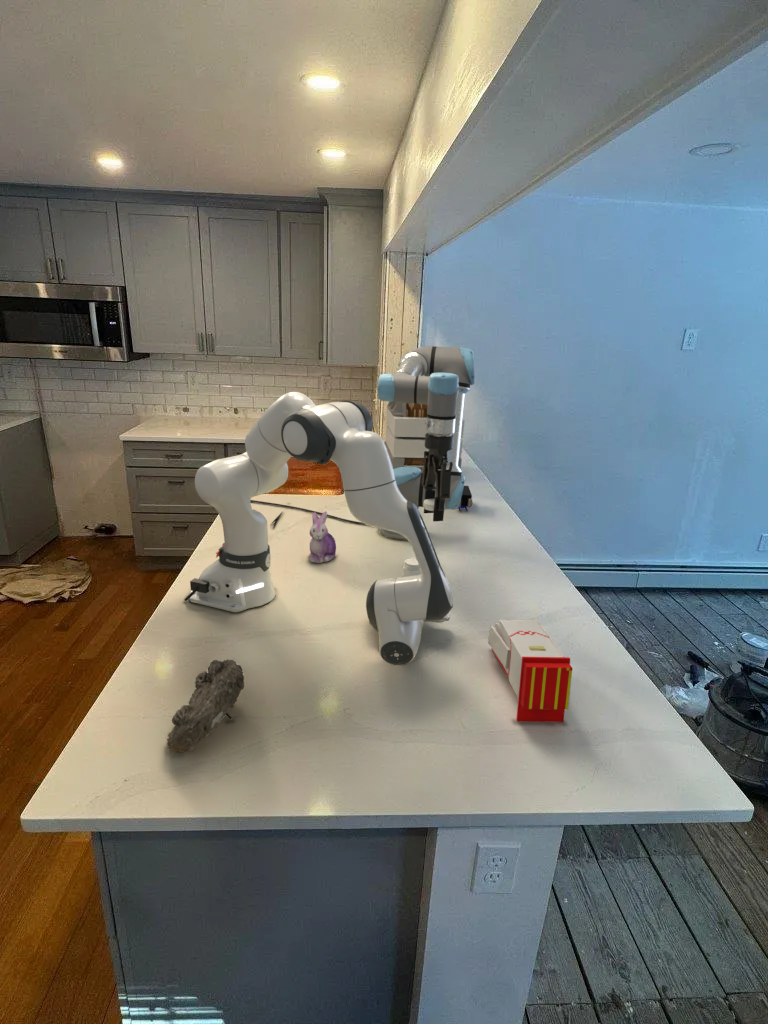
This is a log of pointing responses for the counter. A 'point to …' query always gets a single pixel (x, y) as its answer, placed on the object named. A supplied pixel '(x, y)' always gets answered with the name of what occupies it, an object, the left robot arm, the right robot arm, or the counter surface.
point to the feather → (276, 520)
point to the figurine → (321, 540)
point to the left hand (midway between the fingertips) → (411, 589)
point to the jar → (411, 567)
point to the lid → (429, 504)
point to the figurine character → (465, 499)
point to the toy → (533, 669)
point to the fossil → (206, 705)
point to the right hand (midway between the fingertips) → (433, 516)
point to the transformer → (408, 434)
